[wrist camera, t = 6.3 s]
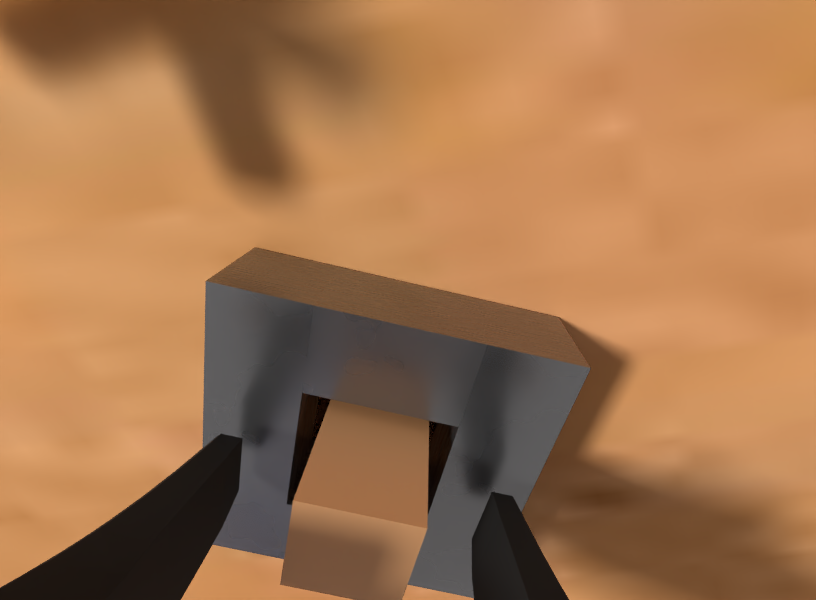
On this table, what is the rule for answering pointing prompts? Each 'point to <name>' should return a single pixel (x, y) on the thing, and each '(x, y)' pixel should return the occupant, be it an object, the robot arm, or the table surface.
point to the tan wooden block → (360, 505)
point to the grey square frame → (380, 392)
